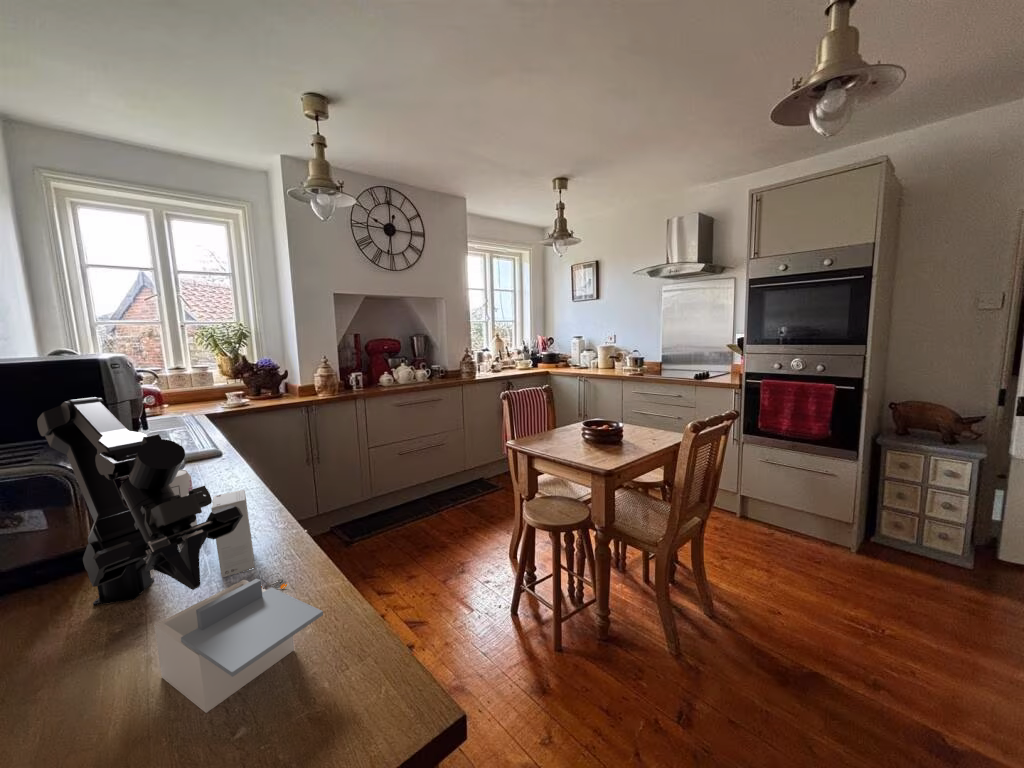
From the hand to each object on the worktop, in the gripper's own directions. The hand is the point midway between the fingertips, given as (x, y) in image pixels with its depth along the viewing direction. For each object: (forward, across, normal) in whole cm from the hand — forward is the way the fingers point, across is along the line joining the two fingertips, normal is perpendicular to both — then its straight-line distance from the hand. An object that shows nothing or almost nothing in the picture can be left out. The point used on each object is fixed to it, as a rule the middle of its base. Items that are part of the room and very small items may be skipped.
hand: (196, 587), depth 64 cm
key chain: (+4, +13, +10) cm, 17 cm away
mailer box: (+12, 0, +1) cm, 12 cm away
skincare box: (-7, +15, +21) cm, 27 cm away
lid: (+12, 0, -10) cm, 15 cm away
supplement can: (-26, +16, +41) cm, 51 cm away
